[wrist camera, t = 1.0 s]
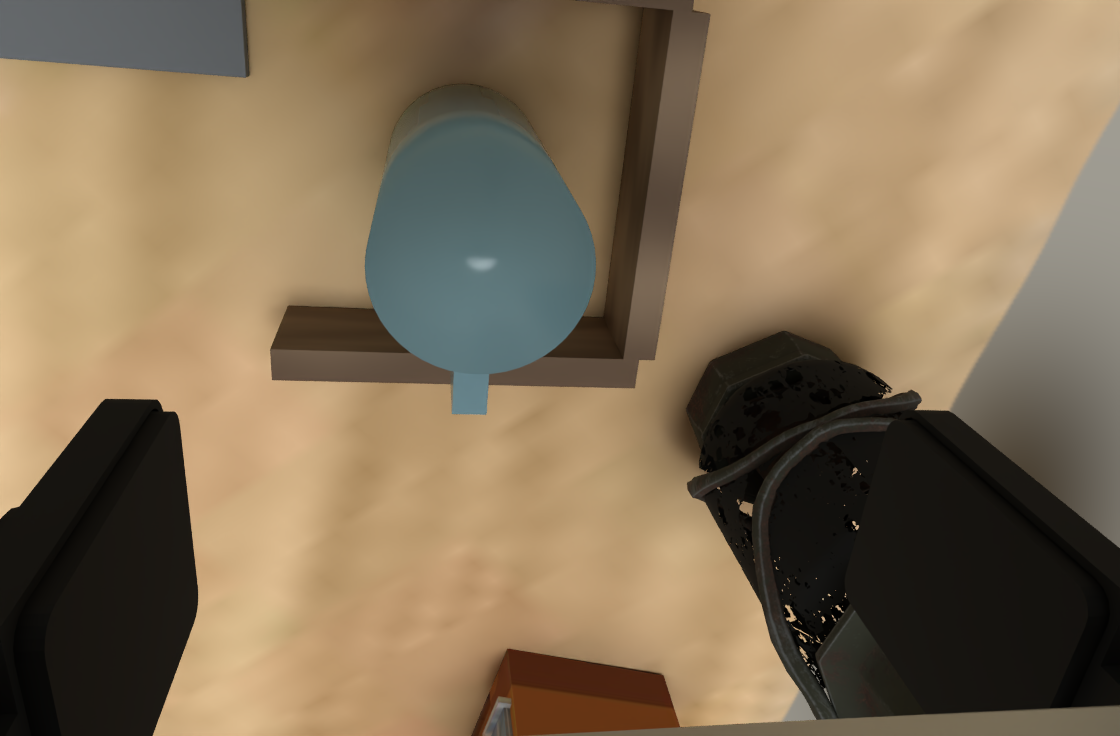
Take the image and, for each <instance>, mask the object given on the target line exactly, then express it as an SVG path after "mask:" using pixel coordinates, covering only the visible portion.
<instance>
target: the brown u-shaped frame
mask: <svg viewBox="0 0 1120 736" xmlns="http://www.w3.org/2000/svg"><path fill="white" fill-rule="evenodd" d="M577 1H587V2H597V3H606V4H616V5H626V6H636V7H644V9H643V16H642V24H641V32H640V40H639V47H638V55H637V63H636V71H635V78H634V86H633V94H632V102H631V109H630V117H629V125H628V133H627V140H626V148H625V156H624V164H623V172H622V179H621V187H620V195H619V203H618V210H617V218H616V226H615V234H614V241H613V249H612V257H611V265H610V272H609V280H608V288H607V296H606V303H605V311H604V318H602V317H581V319H580V320H579V322H578V323H577V325H576V326H575V328H574V329H573V330H572V331H571V333H570V334H569V335H568V336H567V337H566V339H564V340H563V341H562V342H561V343H560V344H559V345H558V346H557V347H556V348H554V349H553V350H552V351H550V352H549V353H548V354H546V355H545V356H543V357H541V358H539V359H538V360H536V361H534V362H532V363H530V364H527V365H525V366H523V367H520V368H517V369H513V370H510V371H506V372H501V373H494V374H489V383H488V385H513V386H557V387H602V388H635V383H636V376H637V370H638V363H639V360H655V354H656V348H657V342H658V336H659V330H660V324H661V317H662V311H663V305H664V299H665V293H666V286H667V280H668V274H669V268H670V262H671V256H672V249H673V243H674V237H675V231H676V225H677V218H678V212H679V206H680V200H681V194H682V187H683V181H684V175H685V169H686V163H687V157H688V150H689V144H690V138H691V132H692V126H693V119H694V113H695V107H696V101H697V95H698V89H699V82H700V76H701V70H702V64H703V58H704V51H705V45H706V39H707V33H708V27H709V20H710V14H708V13H704V12H699V11H694V10H693V3H694V0H577ZM270 354H271V370H272V380H290V381H335V382H379V383H424V384H451V380H450V371H449V370H446V369H443V368H440V367H437V366H434V365H432V364H430V363H428V362H426V361H423V360H421V359H420V358H418V357H417V356H415V355H414V354H412V353H410V352H409V351H408V350H407V349H405V348H404V347H403V346H402V345H401V344H399V343H398V342H397V341H396V339H395V338H394V337H393V336H392V335H391V334H390V333H389V332H388V330H387V329H386V328H385V326H384V325H383V323H382V322H381V321H380V319H379V317H378V315H377V313H376V311H375V309H357V308H330V307H302V306H288V307H287V309H286V312H285V314H284V317H283V319H282V322H281V324H280V327H279V329H278V332H277V334H276V336H275V339H274V341H273V344H272V346H271V349H270Z"/></svg>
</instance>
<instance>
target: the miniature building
mask: <svg viewBox="0 0 1120 736" xmlns="http://www.w3.org/2000/svg"><path fill="white" fill-rule="evenodd" d="M677 727H680V726H679V722H678V719H677V716H676V713H675V710H674V707H673V704H672V701H671V698H670V694H669V691H668V688H667V685H666V682H665V679H664V676H663V675H657V674H651V673H646V672H640V671H634V670H628V669H622V668H617V667H611V666H605V665H599V664H593V663H588V662H582V661H576V660H570V659H564V658H559V657H553V656H547V655H541V654H535V653H530V652H524V651H518V650H512V649H507V651H506V654H505V656H504V659H503V661H502V663H501V666H500V668H499V671H498V673H497V675H496V678H495V680H494V683H493V685H492V687H491V690H490V692H489V695H488V697H487V699H486V702H485V704H484V707H483V709H482V711H481V714H480V716H479V719H478V721H477V724H476V726H475V728H474V731H473V733H472V736H531V735H549V734H568V733H587V732H605V731H623V730H641V729H659V728H677Z"/></svg>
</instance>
